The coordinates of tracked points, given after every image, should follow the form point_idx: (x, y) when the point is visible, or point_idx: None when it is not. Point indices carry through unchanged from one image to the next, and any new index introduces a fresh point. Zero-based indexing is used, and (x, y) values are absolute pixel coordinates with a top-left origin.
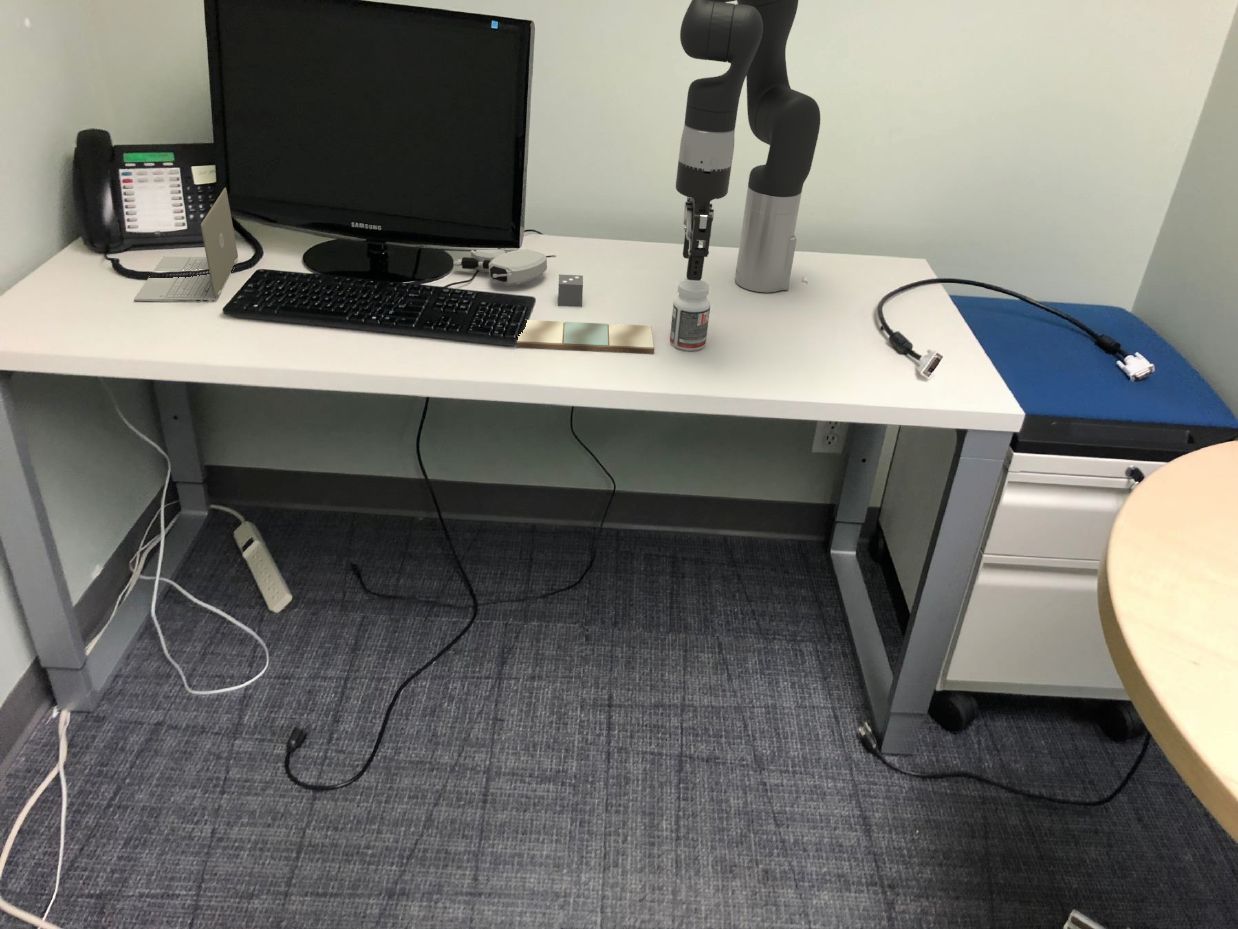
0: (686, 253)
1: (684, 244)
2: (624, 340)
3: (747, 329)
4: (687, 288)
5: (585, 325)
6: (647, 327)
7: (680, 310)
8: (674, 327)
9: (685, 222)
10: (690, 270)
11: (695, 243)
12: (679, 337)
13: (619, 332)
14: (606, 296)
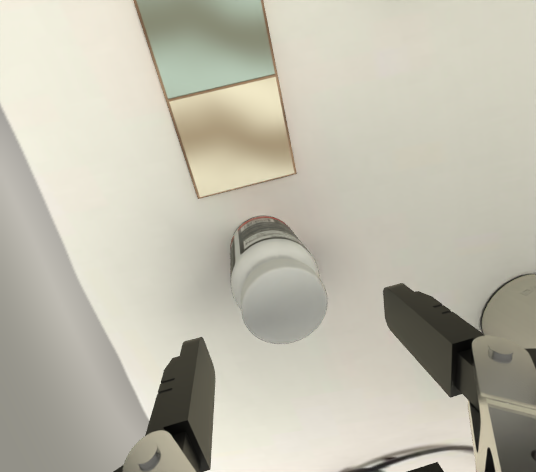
0: (393, 303)
1: (416, 314)
2: (206, 131)
3: (346, 322)
4: (252, 297)
5: (248, 17)
6: (284, 167)
7: (235, 262)
8: (242, 235)
9: (487, 425)
10: (171, 377)
11: (421, 356)
12: (232, 243)
13: (241, 111)
14: (436, 40)
